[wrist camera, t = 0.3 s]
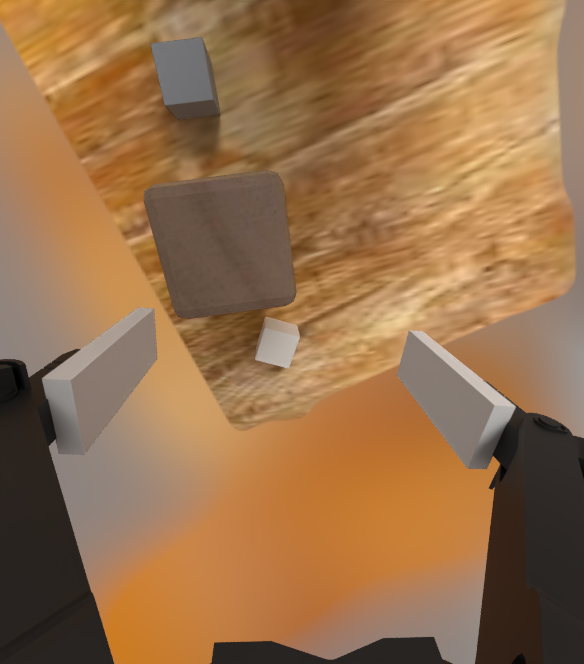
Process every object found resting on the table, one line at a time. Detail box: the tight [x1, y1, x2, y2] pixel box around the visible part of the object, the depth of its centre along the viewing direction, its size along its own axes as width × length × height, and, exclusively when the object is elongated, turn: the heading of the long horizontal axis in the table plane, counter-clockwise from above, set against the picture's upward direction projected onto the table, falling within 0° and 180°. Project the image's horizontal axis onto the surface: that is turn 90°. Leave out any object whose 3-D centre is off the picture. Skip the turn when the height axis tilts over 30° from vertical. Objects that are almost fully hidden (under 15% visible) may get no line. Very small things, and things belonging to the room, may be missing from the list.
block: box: [144, 170, 296, 319], centre depth 31 cm, size 10×10×20 cm
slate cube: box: [150, 37, 220, 120], centre depth 32 cm, size 5×5×5 cm
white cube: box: [255, 316, 300, 368], centre depth 44 cm, size 5×5×5 cm
